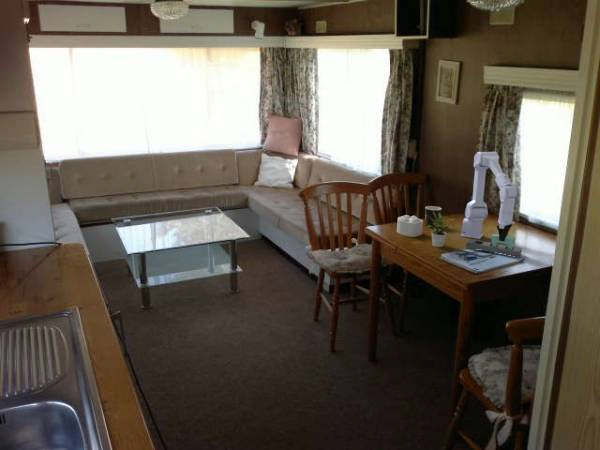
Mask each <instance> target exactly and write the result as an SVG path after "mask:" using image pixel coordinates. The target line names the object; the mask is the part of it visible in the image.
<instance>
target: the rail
mask: <svg viewBox="0 0 600 450" xmlns="http://www.w3.org/2000/svg"><path fill="white" fill-rule="evenodd" d="M465 245H466V246H465V248H466V249H468V250H472V249H482V250H487V251H492V252H497V253H502V254H506V255H511V256H515V257H514V258H516V257H518V258H517V259H520V257H521V255H522V250H523V248H521V247H516V246H513V249H512V250H510V249H507V247H508V245H507V244H504V245H503V244H501V243H498V245H497V247H493V246H492V242H488V241H482V240H479V239H477V240H476V239H473V238H471V239H468V240H467V242H466V244H465Z"/></svg>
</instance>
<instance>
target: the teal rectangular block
mask: <svg viewBox="0 0 600 450" xmlns="http://www.w3.org/2000/svg"><path fill="white" fill-rule="evenodd" d="M490 241H491V242H490V243H492V246H493V247H497V245H498V244H501V245H503V244H504V245H507V246H508V247H507V249H510V250H512V249H513V247H514V245H516V244H515V243H516V237H515V236H508V235H507V236H506V238H505V241H500V240H499V234H496V233H495V234H494V233H493V234H491V240H490Z"/></svg>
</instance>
